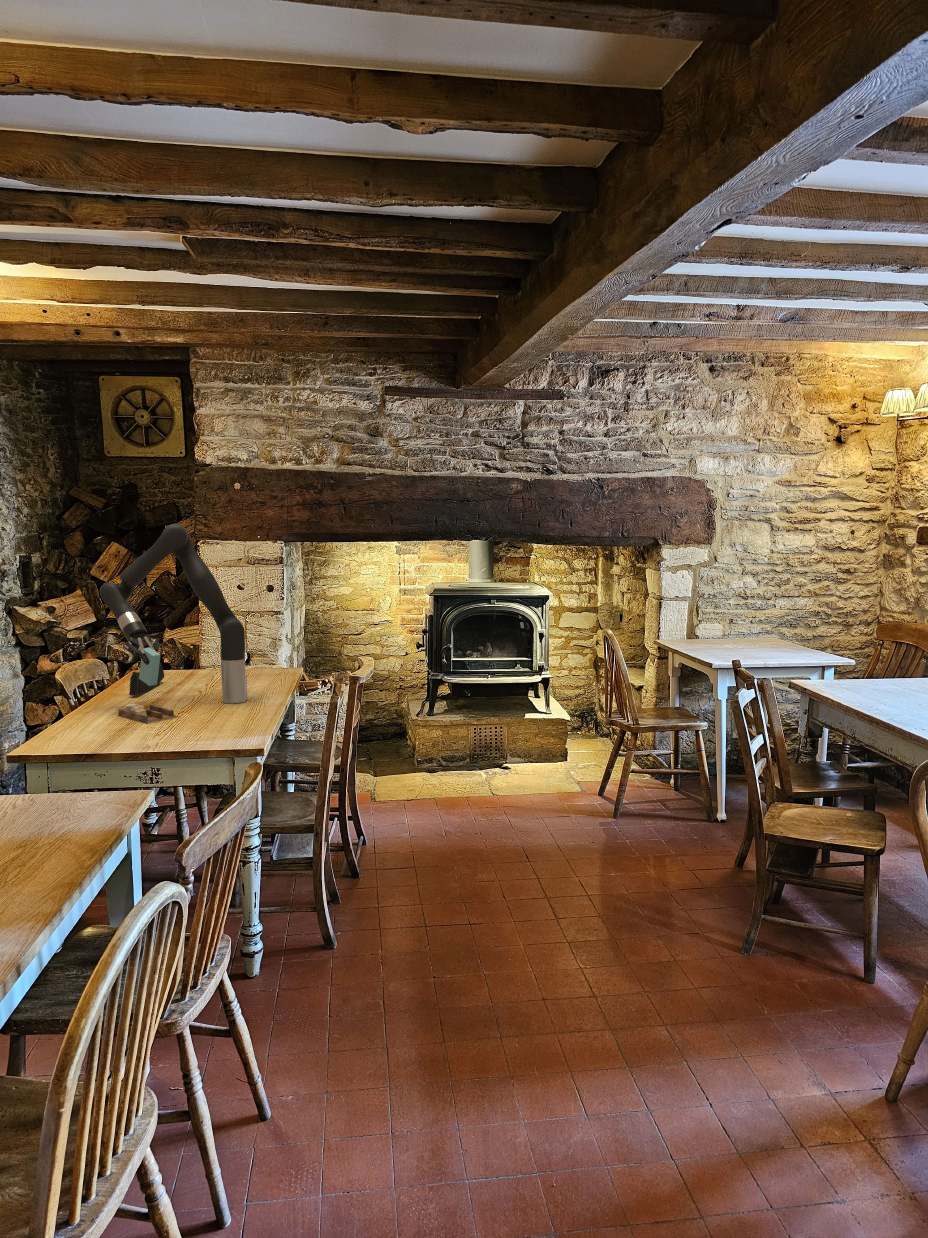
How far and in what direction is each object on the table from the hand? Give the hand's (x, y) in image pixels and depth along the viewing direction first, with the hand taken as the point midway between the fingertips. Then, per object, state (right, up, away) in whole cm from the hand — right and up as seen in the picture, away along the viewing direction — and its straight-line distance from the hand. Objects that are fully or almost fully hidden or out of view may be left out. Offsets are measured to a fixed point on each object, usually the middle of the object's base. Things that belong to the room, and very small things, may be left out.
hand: (152, 662), depth 294 cm
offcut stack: (-6, -20, -1) cm, 21 cm away
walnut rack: (-1, -21, 0) cm, 21 cm away
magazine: (-21, -15, +49) cm, 56 cm away
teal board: (-3, -7, +3) cm, 8 cm away
